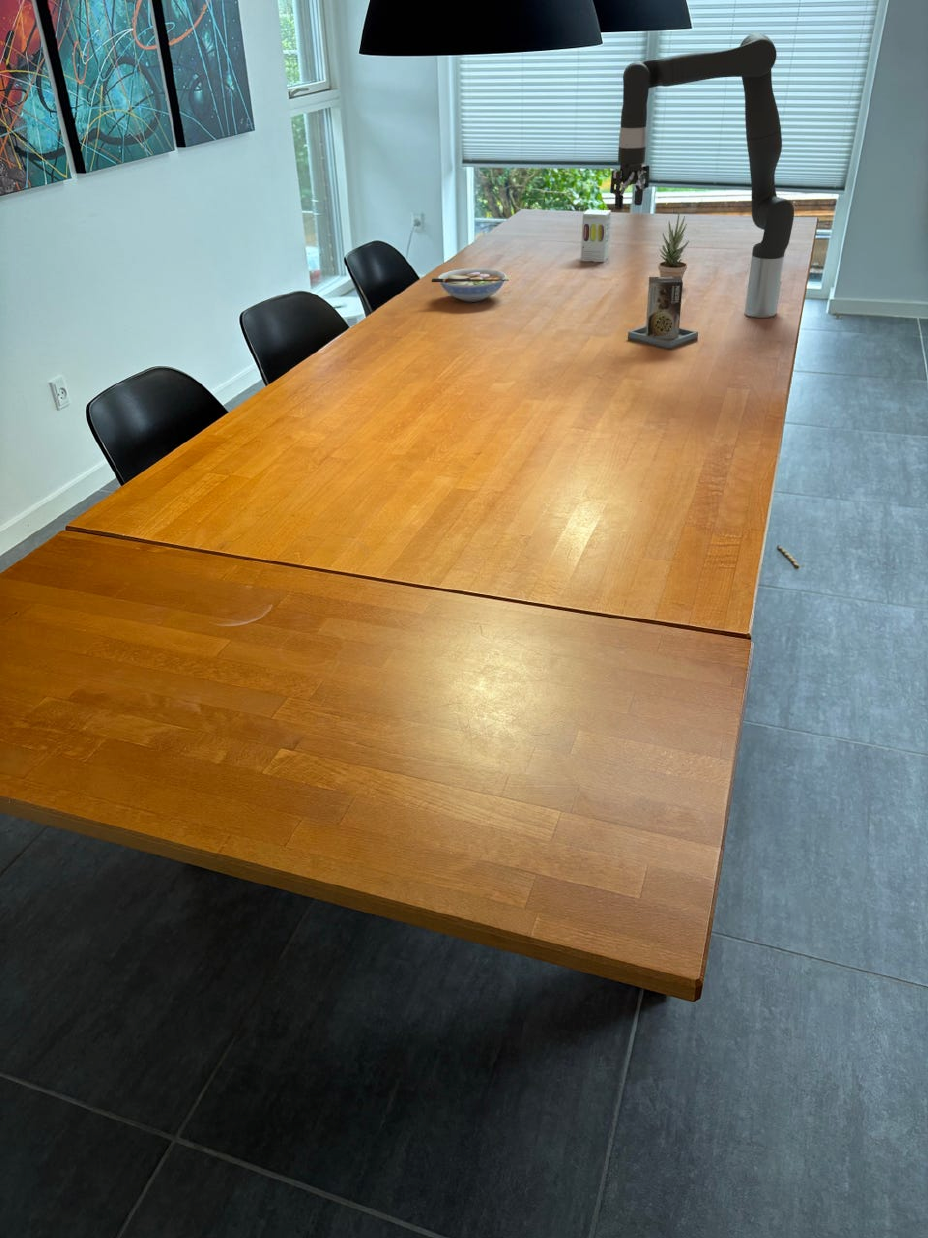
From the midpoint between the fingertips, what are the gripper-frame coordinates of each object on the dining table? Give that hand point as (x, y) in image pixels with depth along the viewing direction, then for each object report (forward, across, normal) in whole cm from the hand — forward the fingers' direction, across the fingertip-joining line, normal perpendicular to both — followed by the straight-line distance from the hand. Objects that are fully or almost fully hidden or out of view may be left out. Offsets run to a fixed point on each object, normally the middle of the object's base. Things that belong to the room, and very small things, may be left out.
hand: (628, 206), depth 272 cm
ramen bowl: (+32, -15, +52) cm, 63 cm away
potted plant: (+32, +41, +13) cm, 54 cm away
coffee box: (+32, -8, -22) cm, 39 cm away
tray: (+32, -8, -22) cm, 40 cm away
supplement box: (+32, +54, +59) cm, 86 cm away
